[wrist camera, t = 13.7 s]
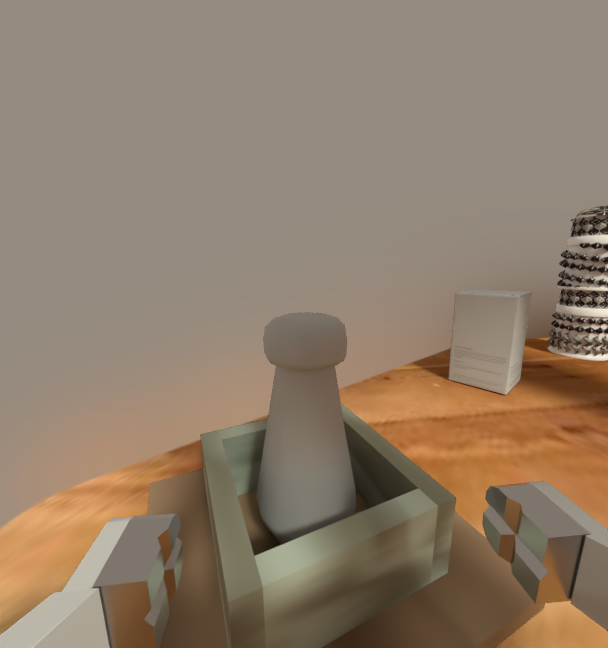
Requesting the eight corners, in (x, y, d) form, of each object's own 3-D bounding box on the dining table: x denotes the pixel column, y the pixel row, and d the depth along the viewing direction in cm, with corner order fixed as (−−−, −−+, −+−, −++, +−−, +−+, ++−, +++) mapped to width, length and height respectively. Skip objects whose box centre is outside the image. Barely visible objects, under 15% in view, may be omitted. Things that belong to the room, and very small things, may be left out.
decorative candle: (630, 360, 49) (666, 202, 44) (580, 362, 48) (612, 201, 43) (575, 345, 58) (600, 212, 53) (532, 347, 57) (554, 212, 52)
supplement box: (521, 380, 41) (535, 291, 39) (505, 396, 37) (520, 296, 34) (465, 367, 47) (474, 288, 44) (445, 379, 42) (453, 291, 39)
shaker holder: (357, 435, 29) (359, 383, 27) (543, 607, 14) (563, 512, 13) (152, 495, 22) (142, 427, 20) (111, 955, 7) (73, 814, 6)
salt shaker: (252, 502, 19) (241, 310, 17) (331, 482, 21) (333, 304, 19) (270, 595, 14) (259, 332, 11) (374, 556, 16) (386, 321, 13)
